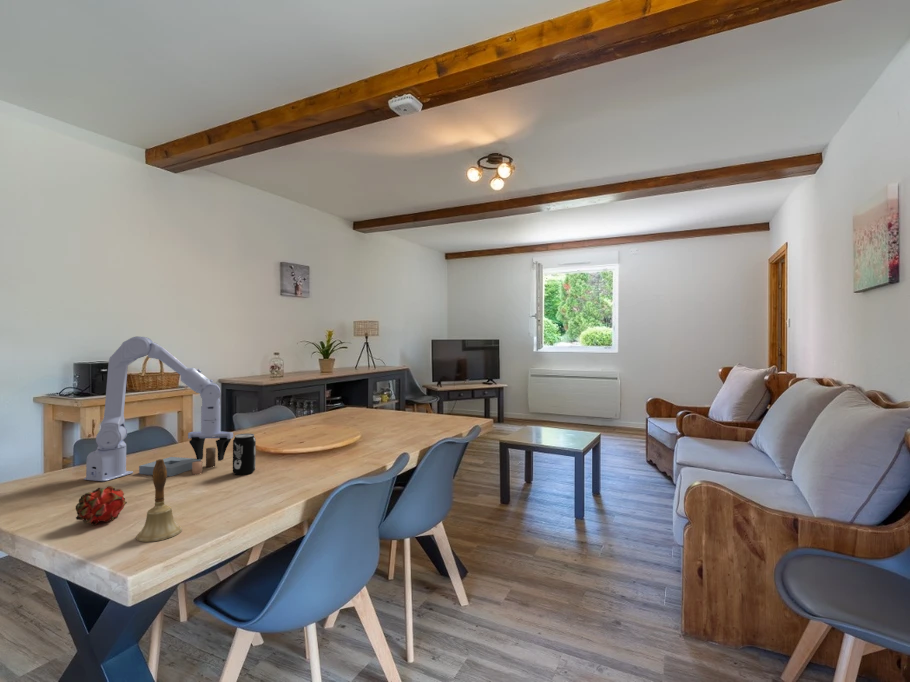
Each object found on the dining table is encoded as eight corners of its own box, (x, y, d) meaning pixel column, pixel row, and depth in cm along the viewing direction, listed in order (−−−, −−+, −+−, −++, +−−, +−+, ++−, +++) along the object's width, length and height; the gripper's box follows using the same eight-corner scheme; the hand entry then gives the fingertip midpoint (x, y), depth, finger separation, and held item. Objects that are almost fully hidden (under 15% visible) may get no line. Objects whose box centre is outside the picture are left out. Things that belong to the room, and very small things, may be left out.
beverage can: (227, 474, 142) (228, 436, 142) (242, 469, 149) (242, 432, 149) (245, 476, 141) (246, 437, 141) (259, 470, 147) (260, 433, 147)
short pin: (197, 474, 142) (197, 463, 142) (189, 474, 143) (190, 463, 143) (204, 472, 145) (204, 461, 145) (196, 471, 145) (197, 460, 146)
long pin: (211, 467, 150) (211, 449, 150) (203, 467, 151) (204, 449, 151) (217, 465, 153) (217, 447, 153) (210, 464, 154) (210, 447, 154)
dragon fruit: (72, 540, 98) (117, 526, 110) (106, 516, 98) (146, 505, 110) (55, 506, 99) (101, 496, 111) (88, 483, 100) (130, 476, 111)
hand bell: (125, 540, 94) (127, 463, 94) (158, 525, 102) (158, 454, 103) (161, 543, 93) (162, 465, 93) (190, 527, 101) (191, 456, 101)
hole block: (170, 476, 140) (171, 468, 140) (139, 473, 143) (139, 465, 143) (200, 466, 152) (200, 458, 152) (170, 464, 154) (170, 456, 154)
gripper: (238, 417, 156) (237, 457, 156) (197, 417, 157) (197, 456, 156) (226, 421, 149) (226, 462, 149) (184, 420, 150) (183, 461, 149)
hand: (210, 459), depth 152 cm, fingers open, 6 cm apart
